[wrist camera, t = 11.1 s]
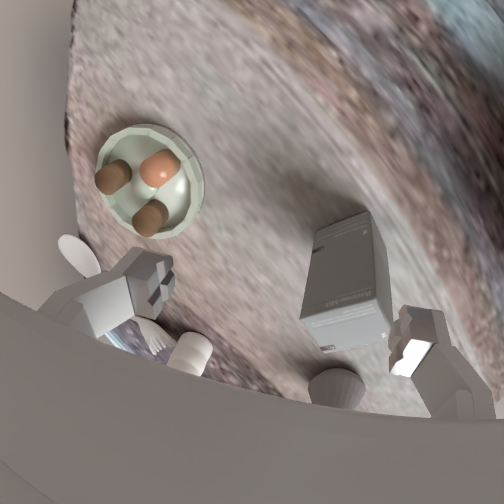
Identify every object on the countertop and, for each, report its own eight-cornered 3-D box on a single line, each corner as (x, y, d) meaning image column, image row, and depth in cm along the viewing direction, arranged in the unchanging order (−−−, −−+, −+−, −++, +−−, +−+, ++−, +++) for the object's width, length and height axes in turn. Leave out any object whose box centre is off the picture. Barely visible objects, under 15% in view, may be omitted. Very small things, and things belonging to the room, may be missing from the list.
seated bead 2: (144, 197, 45) (130, 210, 42) (168, 201, 44) (154, 214, 41) (147, 221, 47) (133, 234, 44) (169, 225, 47) (157, 239, 43)
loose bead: (154, 147, 40) (138, 156, 37) (180, 149, 39) (166, 159, 36) (155, 174, 42) (140, 185, 39) (181, 177, 41) (167, 189, 38)
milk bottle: (200, 356, 66) (153, 456, 46) (175, 336, 64) (121, 436, 44) (220, 347, 62) (173, 457, 42) (194, 325, 60) (137, 436, 40)
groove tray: (101, 122, 40) (90, 127, 38) (205, 126, 38) (197, 131, 36) (113, 220, 50) (105, 228, 48) (205, 239, 48) (199, 248, 46)
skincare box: (369, 207, 38) (378, 290, 26) (388, 251, 41) (399, 340, 28) (311, 231, 42) (293, 316, 30) (333, 271, 45) (324, 359, 32)
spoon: (160, 345, 68) (153, 357, 65) (59, 240, 58) (49, 250, 55) (184, 337, 63) (178, 349, 60) (74, 220, 53) (63, 229, 50)
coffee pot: (349, 355, 54) (342, 427, 42) (375, 383, 57) (372, 449, 46) (262, 381, 66) (244, 441, 54) (293, 405, 69) (280, 461, 57)
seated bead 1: (109, 158, 42) (93, 168, 39) (131, 159, 42) (114, 170, 39) (112, 182, 45) (96, 193, 42) (133, 185, 44) (118, 197, 41)
